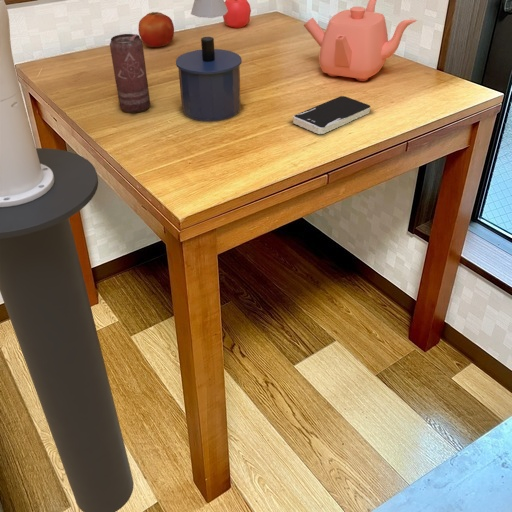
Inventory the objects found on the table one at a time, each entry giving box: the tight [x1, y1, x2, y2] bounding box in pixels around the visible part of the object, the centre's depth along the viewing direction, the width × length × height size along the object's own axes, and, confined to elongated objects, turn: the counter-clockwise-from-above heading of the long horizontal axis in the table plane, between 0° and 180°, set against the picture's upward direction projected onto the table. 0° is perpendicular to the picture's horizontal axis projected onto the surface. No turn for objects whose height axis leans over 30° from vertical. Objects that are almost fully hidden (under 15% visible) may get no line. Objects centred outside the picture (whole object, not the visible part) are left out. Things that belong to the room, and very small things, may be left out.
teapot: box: [303, 0, 418, 82], centre depth 131 cm, size 18×18×14 cm
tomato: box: [138, 11, 175, 48], centre depth 150 cm, size 9×9×8 cm
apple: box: [222, 0, 252, 29], centre depth 162 cm, size 8×8×8 cm
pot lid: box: [175, 36, 243, 74], centre depth 113 cm, size 13×13×5 cm
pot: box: [177, 65, 242, 122], centre depth 117 cm, size 12×12×10 cm
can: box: [109, 33, 151, 114], centre depth 117 cm, size 6×6×14 cm
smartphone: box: [292, 95, 371, 135], centre depth 116 cm, size 8×1×15 cm
